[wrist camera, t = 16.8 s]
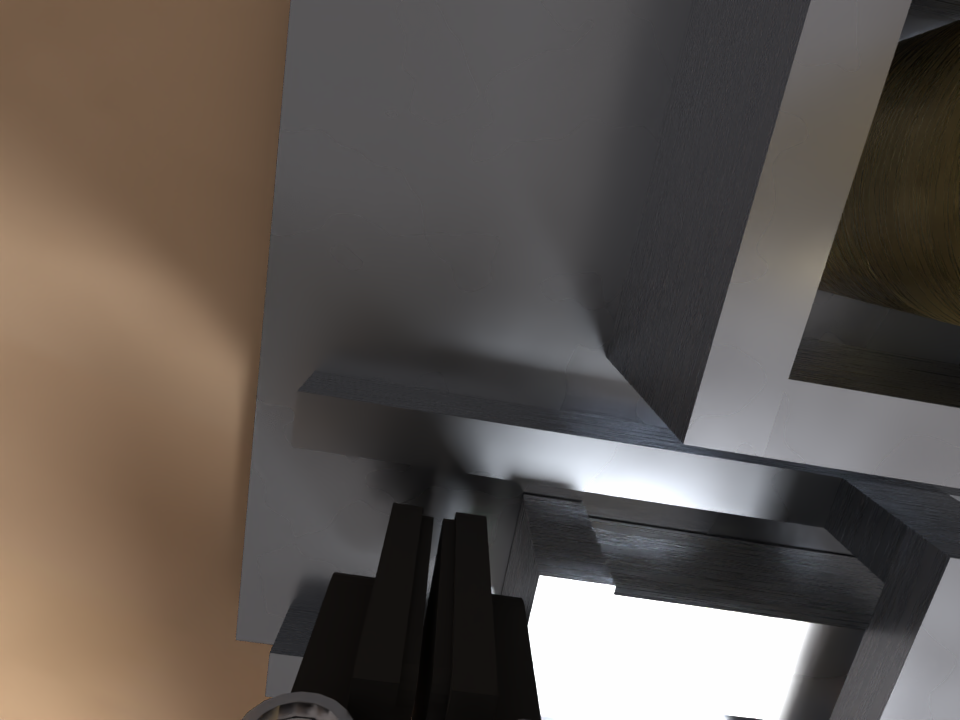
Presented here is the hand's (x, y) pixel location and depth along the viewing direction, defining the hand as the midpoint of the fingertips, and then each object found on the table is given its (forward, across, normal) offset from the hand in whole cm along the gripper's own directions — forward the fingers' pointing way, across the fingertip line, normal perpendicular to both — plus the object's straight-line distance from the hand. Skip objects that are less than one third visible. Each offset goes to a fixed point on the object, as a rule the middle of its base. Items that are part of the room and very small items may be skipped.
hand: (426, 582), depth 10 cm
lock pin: (+1, -6, 0) cm, 6 cm away
